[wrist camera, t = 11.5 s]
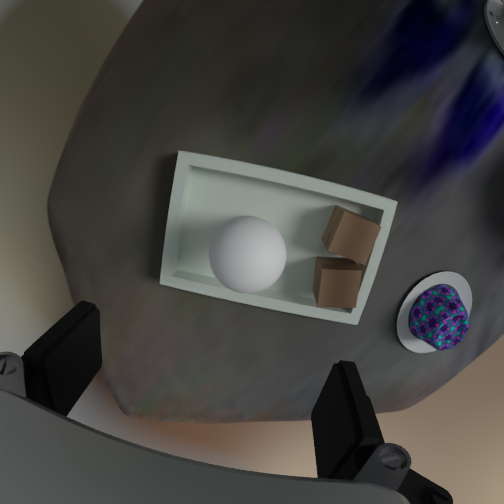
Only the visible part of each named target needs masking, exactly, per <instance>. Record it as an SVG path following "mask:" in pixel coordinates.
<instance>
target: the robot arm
mask: <svg viewBox="0 0 504 504" xmlns="http://www.w3.org/2000/svg"><path fill="white" fill-rule="evenodd" d="M484 17H485V22H486V25H487V28H488V30H489V32H490V35H491V37H492V39H493V40H494V42H495V44H496V46H497V47H498V49H499V50H500V52H501V53H502V54H503V55H504V0H487V1H486V3H485V5H484ZM101 365H102V352H101V336H100V312H99V309H97V308H96V305H95V304H92V303H89V302H86V301H81V302H79V303H78V304H77V305H76V306H75V307H74V308H72V309H71V310H70V311H69V312H68V313H67V314H66V315H64V316H63V317H62V318H61V319H60V320H59V321H58V322H57V323H55V324H54V325H53V326H52V327H51V328H50V329H49V330H48V331H47V332H45V333H44V334H43V335H42V336H41V337H40V338H39V339H38V340H37V341H35V342H34V343H33V344H32V345H31V346H30V347H29V348H28V349H27V350H26V351H25V352H24V355H23V356H21V357H20V356H19V355H17V354H15V353H12V352H1V353H0V504H453V499H452V496H451V495H450V493H449V492H448V491H447V490H445V489H444V488H442V487H441V486H439V485H437V484H435V483H433V482H432V481H430V480H428V479H427V478H425V477H423V476H421V475H420V474H418V473H417V472H415V471H413V470H412V469H410V465H411V457H410V455H409V453H408V452H407V451H406V450H405V449H404V448H403V447H401V446H399V445H396V444H393V443H385V442H384V439H383V436H382V433H381V430H380V427H379V424H378V421H377V418H376V415H375V412H374V409H373V406H372V403H371V400H370V398H369V396H367V395H366V392H365V390H364V387H363V384H362V381H361V378H360V375H359V373H358V370H357V367H356V364H355V362H350V361H343V360H340V361H339V362H338V363H335V364H334V365H333V367H332V369H331V371H330V374H329V376H328V378H327V380H326V382H325V385H324V387H323V389H322V391H321V393H320V395H319V398H318V400H317V402H316V404H315V406H314V408H313V410H312V414H311V421H312V429H313V438H314V447H315V456H316V465H317V475H318V478H310V477H297V476H286V475H277V474H268V473H260V472H253V471H246V470H240V469H234V468H228V467H223V466H218V465H213V464H208V463H203V462H198V461H194V460H190V459H186V458H182V457H178V456H174V455H171V454H167V453H163V452H160V451H157V450H153V449H150V448H147V447H143V446H140V445H137V444H134V443H131V442H128V441H125V440H122V439H120V438H117V437H114V436H112V435H109V434H106V433H104V432H101V431H99V430H96V429H94V428H91V427H89V426H86V425H84V424H82V423H79V422H77V421H75V420H73V419H70V418H68V417H66V416H67V415H68V413H69V412H70V411H71V409H72V407H73V406H74V405H75V403H76V402H77V401H78V399H79V398H80V396H81V395H82V393H83V392H84V390H85V389H86V388H87V386H88V385H89V384H90V382H91V381H92V379H93V378H94V376H95V375H96V374H97V373H98V371H99V370H100V368H101Z"/></svg>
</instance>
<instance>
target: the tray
mask: <svg viewBox="0 0 504 504" xmlns="http://www.w3.org/2000/svg"><path fill="white" fill-rule="evenodd" d="M336 205H338V206H340V207H343V208H345V209H347V210H350V211H352V212H354V213H357V214H359V215H361V216H364V217H366V218H368V219H370V220H372V221H373V222H375V223H376V224H378V225H379V226H381V230H380V232H379V234H378V237H377V239H376V241H375V243H374V246H373V248H372V250H371V252H370V254H369V257H368V259H367V261H366V263H365V265H364V264H361V263H358V262H356V261H355V262H356V264H357V265H358V266H359V268H360V269H361V270H362V274H361V280H360V286H359V292H358V298H357V304H356V308H333V307H317V304H316V300H315V297H314V294H313V283H314V274H315V264H316V256H319V257H341V258H346V257H343V256H341V255H338V254H335V253H333V252H330V251H328V250H327V248H326V247H325V245H324V243H323V242H322V240H321V239H322V237H323V235H324V232H325V230H326V228H327V225H328V223H329V220H330V218H331V216H332V213H333V211H334V208H335V206H336ZM396 206H397V201H394V200H392V199H389V198H386V197H383V196H379V195H376V194H373V193H369V192H366V191H362V190H359V189H355V188H352V187H348V186H344V185H341V184H337V183H333V182H329V181H326V180H322V179H318V178H314V177H310V176H306V175H302V174H297V173H293V172H289V171H285V170H280V169H276V168H271V167H267V166H262V165H257V164H253V163H248V162H243V161H238V160H232V159H227V158H222V157H216V156H211V155H205V154H199V153H193V152H187V151H179V153H178V158H177V163H176V169H175V175H174V180H173V186H172V193H171V199H170V205H169V212H168V219H167V226H166V233H165V241H164V249H163V258H162V266H161V276H160V284H162V285H166V286H171V287H175V288H179V289H183V290H187V291H191V292H196V293H200V294H204V295H208V296H213V297H217V298H222V299H226V300H231V301H235V302H240V303H245V304H249V305H254V306H259V307H264V308H268V309H273V310H278V311H283V312H289V313H294V314H299V315H304V316H309V317H315V318H320V319H326V320H331V321H337V322H343V323H349V324H355V325H357V324H358V322H359V319H360V317H361V314H362V311H363V309H364V306H365V303H366V301H367V298H368V295H369V292H370V290H371V287H372V284H373V281H374V278H375V275H376V272H377V269H378V266H379V263H380V260H381V257H382V254H383V251H384V247H385V244H386V241H387V238H388V234H389V231H390V227H391V224H392V220H393V217H394V213H395V210H396ZM241 216H255V217H259V218H261V219H264V220H266V221H267V222H269V223H271V224H272V225H273V226H274V227H275V228H276V229H277V230H278V231H279V233H280V234H281V235H282V238H283V240H284V242H285V247H286V263H285V267H284V269H283V271H282V274H281V275H280V277H279V278H278V279H277V281H276V282H275V283H273V284H272V285H271V286H270V287H268V288H267V289H265V290H263V291H260V292H256V293H239V292H235V291H233V290H230V289H229V288H227V287H225V286H224V285H223V284H222V283H220V281H219V280H218V279H217V278H216V276H215V275H214V273H213V271H212V269H211V266H210V262H209V246H210V243H211V241H212V238H213V236H214V234H215V233H216V231H217V230H218V229H219V228H220V227H221V226H222V225H223V224H225V223H226V222H228V221H230V220H232V219H234V218H237V217H241Z"/></svg>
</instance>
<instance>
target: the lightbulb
mask: <svg viewBox="0 0 504 504" xmlns="http://www.w3.org/2000/svg"><path fill="white" fill-rule="evenodd" d="M209 262H210V266H211V269H212V271H213V273H214V275H215V276H216V278H217V279H218V280H219V281H220V283H222V284H223V285H224V286H225V287H227V288H229V289H230V290H233V291H235V292H239V293H256V292H260V291H263V290H265V289H267V288H268V287H270V286H271V285H272V284H273V283H275V282H276V281H277V279H278V278H279V277H280V275H281V274H282V271H283V269H284V267H285V263H286V247H285V242H284V240H283V238H282V235H281V234H280V233H279V231H278V230H277V229H276V228H275V227H274V226H273V225H272V224H271V223H269V222H267V221H266V220H264V219H261V218H259V217H255V216H241V217H237V218H234V219H232V220H230V221H228V222H226V223H225V224H223V225H222V226H221V227H220V228H219V229H218V230H217V231H216V233H215V234H214V236H213V238H212V241H211V243H210V246H209Z"/></svg>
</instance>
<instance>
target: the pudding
mask: <svg viewBox="0 0 504 504" xmlns="http://www.w3.org/2000/svg"><path fill="white" fill-rule="evenodd" d="M442 283H443V284H449V285H451V286H453V287H454V288H455V289H456V290H457V291H456V290H455V289H448V287H447V286H446V285H443V284H442ZM436 284H441V285H438V286H437V287H436V288H435V289H434V290H432V289H428V288H429V287H431V286H433V285H436ZM426 289H428V290H426ZM425 290H426V291H425ZM423 291H425V292H423ZM422 292H423V294H422V295H421V296H420V299H419V302H418V303H416V304H414V305H413V303H414V302H415V300H416V299H417V298H418V296H419V295H420V294H421V293H422ZM457 292H458V293H459V295H458V293H457ZM412 305H413V307H412ZM471 305H472V294H471V290H470V286H469V285H468V283H467V281H466V280H465V279H464V278H463V277H462V276H461V275H459V274H457V273H454V272H447V271H446V272H439V273H436V274H433V275H431V276H429V277H427V278H425V279H424V280H423V281H421V282H420V283H419V284H418V285H417V286H415V287H414V288H413V290H412V291H411V292H410V293H409V294H408V296H407V297H406V299H405V301H404V302H403V304H402V307H401V309H400V312H399V315H398V320H397V333H398V337H399V339H400V341H401V343H402V344H403V345H404V346H405V347H406V348H407V349H409V350H411V351H413V352H417V353H428V352H432V351H435V350H444V349H445V348H446V349H451V348H453V347H454V346H455V345H456V344H457V343H458V342H461V341H462V339H463V338H464V337H465V332H466V331H467V330H468V328H469V319H468V317H469V314H470V310H471ZM411 307H412V309H411ZM410 309H411V312H410ZM409 313H410V316H411V318H412V320H411V322H410V324H409V326H410V329H409V326H408V317H409ZM410 330H411V331H412V332H413V333H415V334H416V335H417V337H418V338H419V339H418V338H416V337H415V336H413V334H412V333H411V332H410ZM420 339H421V340H420Z"/></svg>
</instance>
